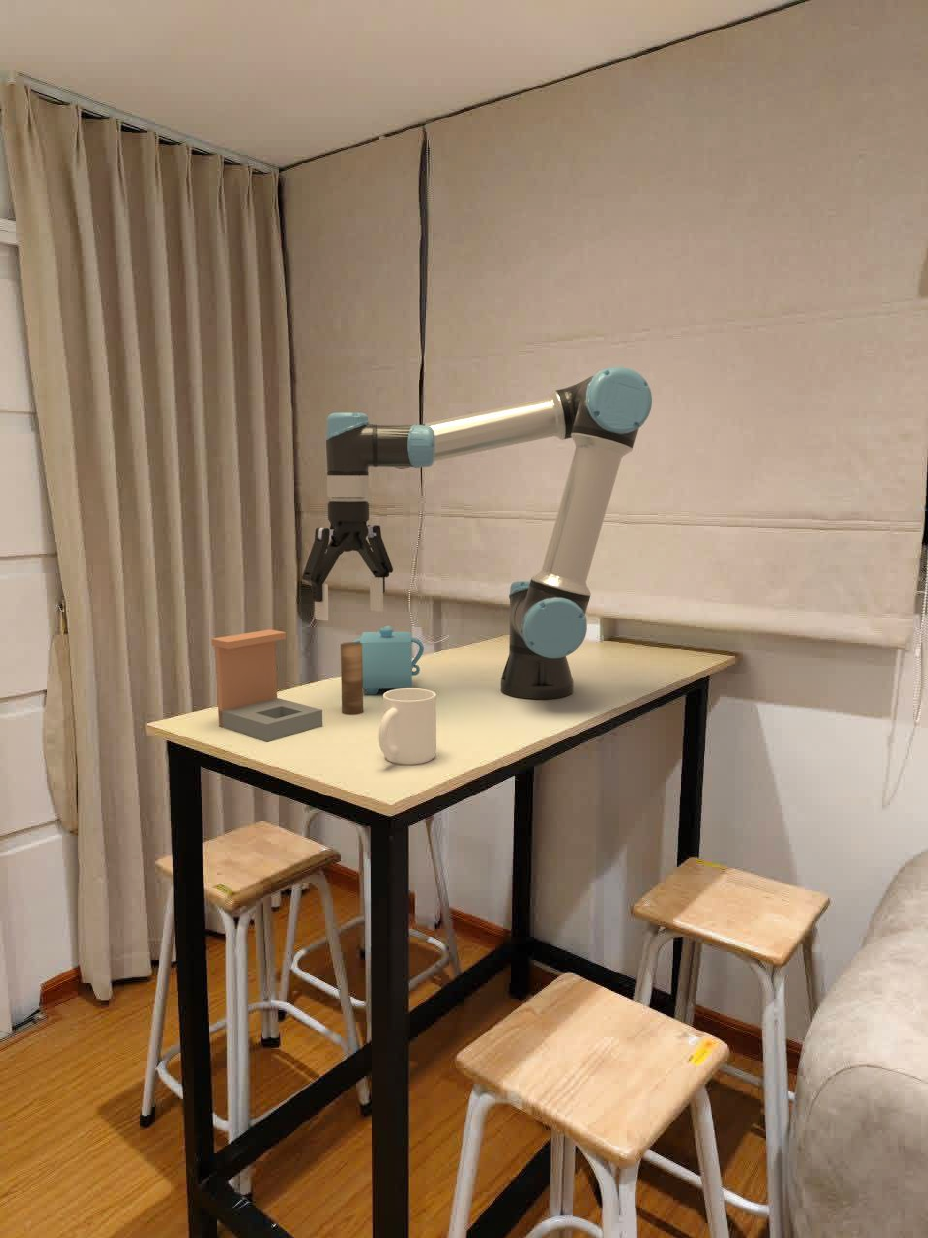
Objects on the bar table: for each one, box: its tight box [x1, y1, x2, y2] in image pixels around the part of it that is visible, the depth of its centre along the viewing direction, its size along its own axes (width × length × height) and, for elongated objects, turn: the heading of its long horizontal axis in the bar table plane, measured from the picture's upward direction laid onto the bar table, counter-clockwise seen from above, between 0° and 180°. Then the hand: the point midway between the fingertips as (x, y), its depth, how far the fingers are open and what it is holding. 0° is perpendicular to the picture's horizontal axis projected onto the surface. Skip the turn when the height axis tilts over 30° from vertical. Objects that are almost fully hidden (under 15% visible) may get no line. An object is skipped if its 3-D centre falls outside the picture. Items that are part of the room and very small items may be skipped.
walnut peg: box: [340, 641, 364, 716], centre depth 161 cm, size 4×4×13 cm
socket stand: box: [211, 628, 323, 742], centre depth 151 cm, size 15×13×16 cm
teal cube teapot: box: [352, 625, 425, 695], centre depth 181 cm, size 18×16×13 cm
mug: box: [378, 687, 437, 766], centre depth 133 cm, size 12×8×10 cm
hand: (350, 615), depth 159 cm, fingers open, 13 cm apart
